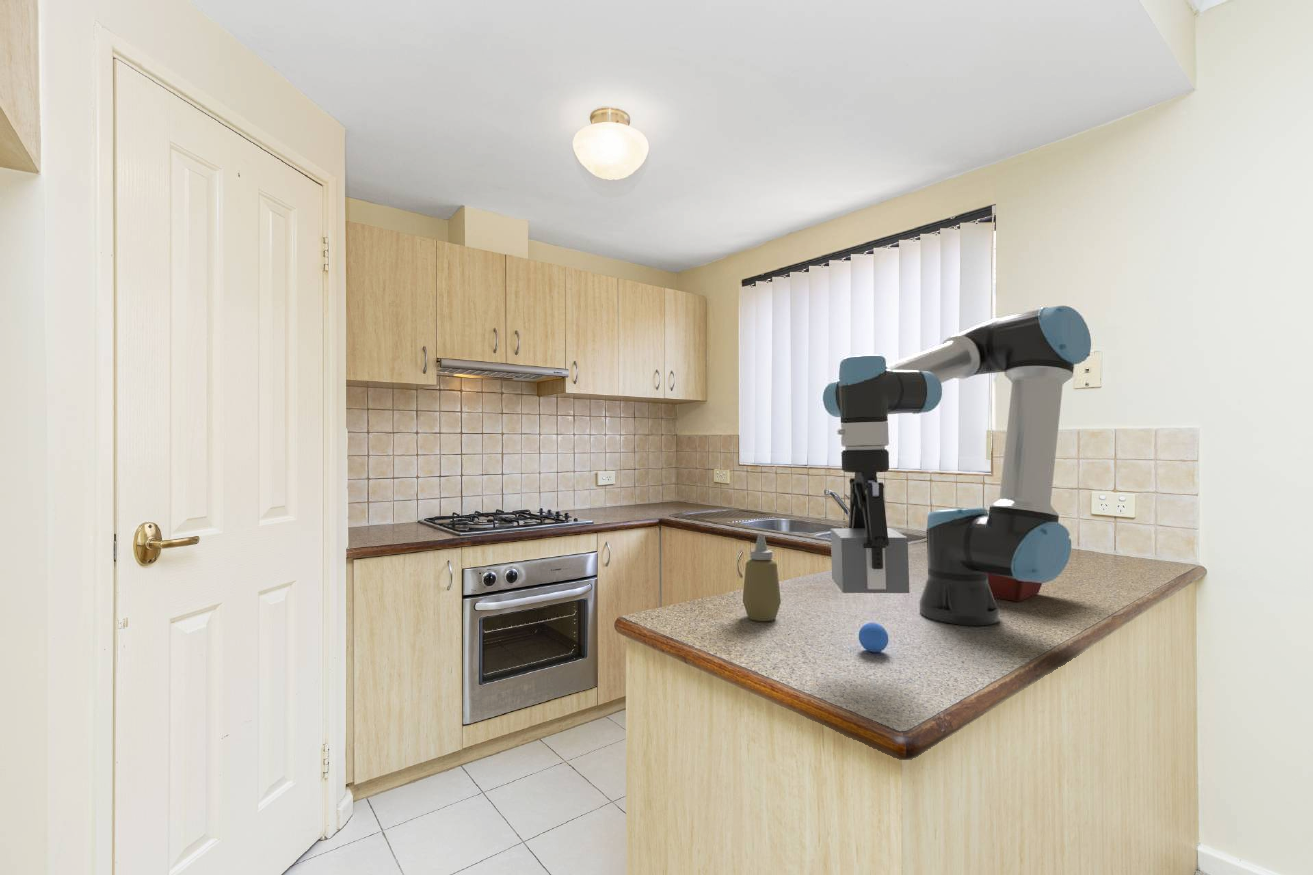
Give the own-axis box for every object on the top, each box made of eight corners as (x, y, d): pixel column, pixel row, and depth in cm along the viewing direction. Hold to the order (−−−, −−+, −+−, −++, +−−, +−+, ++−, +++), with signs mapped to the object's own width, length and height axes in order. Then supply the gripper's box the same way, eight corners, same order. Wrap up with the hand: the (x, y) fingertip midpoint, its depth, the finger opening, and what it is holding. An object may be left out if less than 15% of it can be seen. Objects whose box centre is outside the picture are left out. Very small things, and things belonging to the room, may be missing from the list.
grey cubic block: (891, 578, 104) (890, 528, 104) (909, 593, 94) (907, 537, 94) (832, 578, 105) (830, 528, 105) (842, 592, 95) (841, 537, 95)
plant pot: (942, 592, 149) (941, 524, 149) (977, 581, 160) (976, 519, 161) (1026, 607, 134) (1025, 533, 134) (1058, 594, 145) (1057, 526, 146)
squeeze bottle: (781, 624, 121) (780, 536, 122) (741, 622, 123) (740, 535, 123) (780, 614, 129) (780, 531, 130) (743, 612, 131) (743, 530, 131)
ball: (884, 647, 107) (884, 619, 107) (892, 656, 102) (891, 627, 103) (856, 646, 108) (855, 618, 108) (862, 655, 103) (861, 627, 103)
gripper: (830, 448, 111) (833, 566, 111) (855, 449, 89) (860, 598, 88) (871, 447, 110) (875, 566, 110) (908, 448, 88) (912, 598, 87)
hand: (868, 580), depth 99 cm, fingers closed on grey cubic block, 10 cm apart
